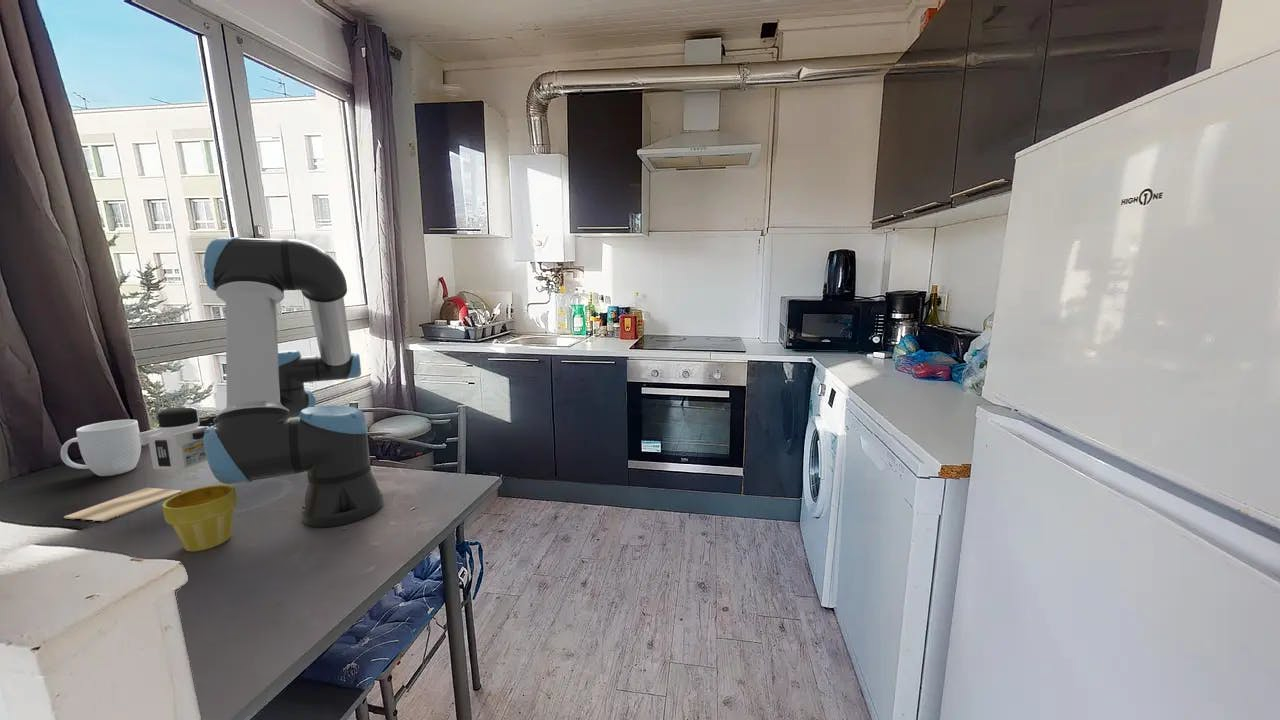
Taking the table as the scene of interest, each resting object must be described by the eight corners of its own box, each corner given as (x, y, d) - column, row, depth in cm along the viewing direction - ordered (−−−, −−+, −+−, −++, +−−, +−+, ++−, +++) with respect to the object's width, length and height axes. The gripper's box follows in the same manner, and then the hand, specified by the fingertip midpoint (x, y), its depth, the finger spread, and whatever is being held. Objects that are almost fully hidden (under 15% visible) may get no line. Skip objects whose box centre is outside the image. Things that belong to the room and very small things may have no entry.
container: (185, 469, 105) (176, 412, 103) (152, 469, 106) (142, 412, 104) (217, 457, 113) (209, 404, 111) (186, 457, 113) (177, 404, 111)
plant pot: (164, 564, 84) (155, 513, 83) (176, 540, 93) (167, 493, 91) (239, 545, 90) (232, 497, 89) (244, 524, 99) (237, 479, 97)
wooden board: (183, 492, 114) (183, 490, 114) (103, 522, 100) (103, 520, 100) (146, 489, 116) (146, 487, 116) (63, 518, 102) (63, 516, 102)
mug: (53, 486, 118) (42, 436, 116) (78, 471, 128) (69, 424, 126) (135, 474, 125) (126, 427, 123) (153, 461, 135) (145, 417, 133)
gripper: (292, 428, 124) (199, 458, 102) (226, 426, 128) (122, 454, 106) (289, 401, 123) (194, 425, 101) (222, 399, 127) (116, 421, 105)
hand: (157, 440), depth 104 cm, fingers closed on container, 8 cm apart
